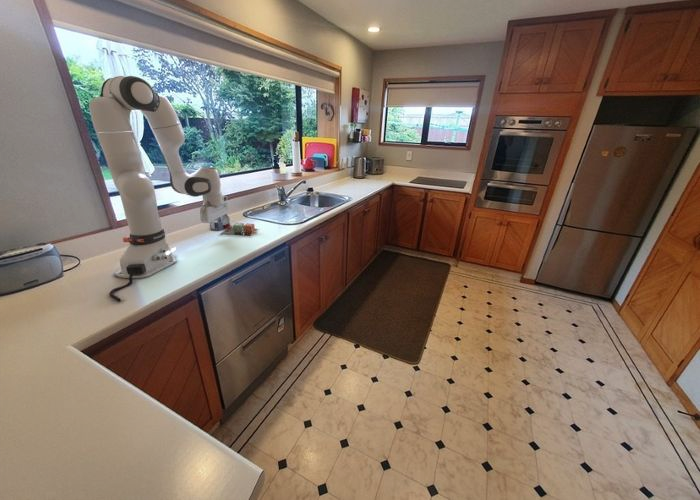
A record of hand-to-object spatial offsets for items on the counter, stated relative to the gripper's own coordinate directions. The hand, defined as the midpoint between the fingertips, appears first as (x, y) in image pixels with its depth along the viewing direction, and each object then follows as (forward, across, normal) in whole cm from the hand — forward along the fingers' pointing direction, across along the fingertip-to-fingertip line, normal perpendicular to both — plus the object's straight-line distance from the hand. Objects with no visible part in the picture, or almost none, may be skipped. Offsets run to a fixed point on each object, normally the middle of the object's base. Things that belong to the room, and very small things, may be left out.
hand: (216, 226), depth 145 cm
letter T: (+2, 0, 0) cm, 2 cm away
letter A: (+7, +13, -6) cm, 15 cm away
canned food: (+8, +19, +8) cm, 22 cm away
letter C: (+6, +13, -12) cm, 18 cm away
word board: (+7, +13, -6) cm, 16 cm away
